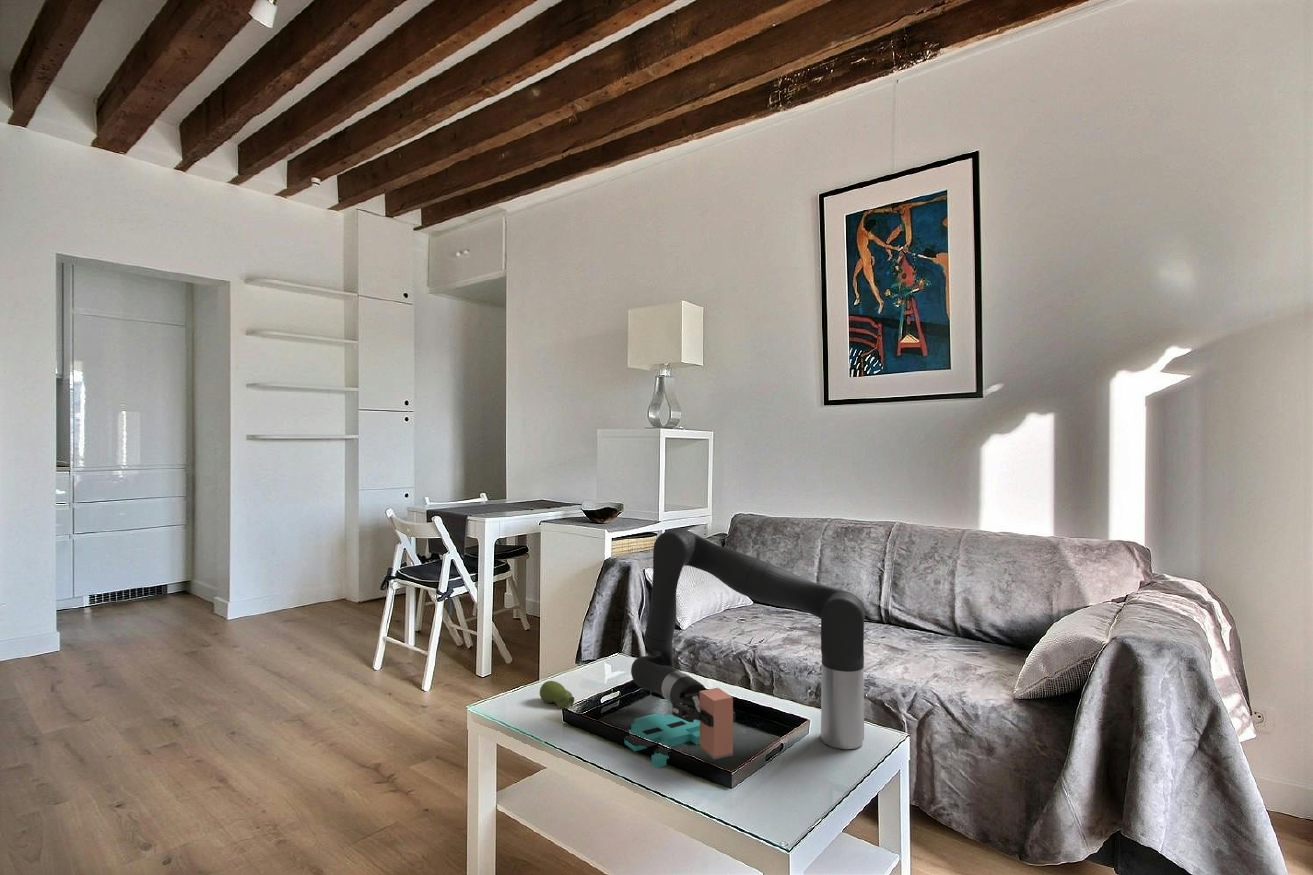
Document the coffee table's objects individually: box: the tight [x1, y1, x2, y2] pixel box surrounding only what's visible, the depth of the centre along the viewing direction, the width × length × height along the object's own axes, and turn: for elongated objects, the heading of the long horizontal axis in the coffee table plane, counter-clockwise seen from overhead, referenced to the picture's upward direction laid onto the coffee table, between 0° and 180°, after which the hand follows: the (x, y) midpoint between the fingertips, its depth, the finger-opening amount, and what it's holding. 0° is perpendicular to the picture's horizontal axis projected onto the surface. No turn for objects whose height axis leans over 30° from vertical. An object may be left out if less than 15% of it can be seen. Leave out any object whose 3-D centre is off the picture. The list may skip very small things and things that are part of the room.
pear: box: [539, 680, 575, 710], centre depth 178 cm, size 6×5×10 cm
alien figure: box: [624, 712, 700, 769], centre depth 158 cm, size 20×2×20 cm
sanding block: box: [699, 687, 734, 760], centre depth 146 cm, size 4×6×12 cm
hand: (722, 719), depth 143 cm, fingers closed on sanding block, 4 cm apart
